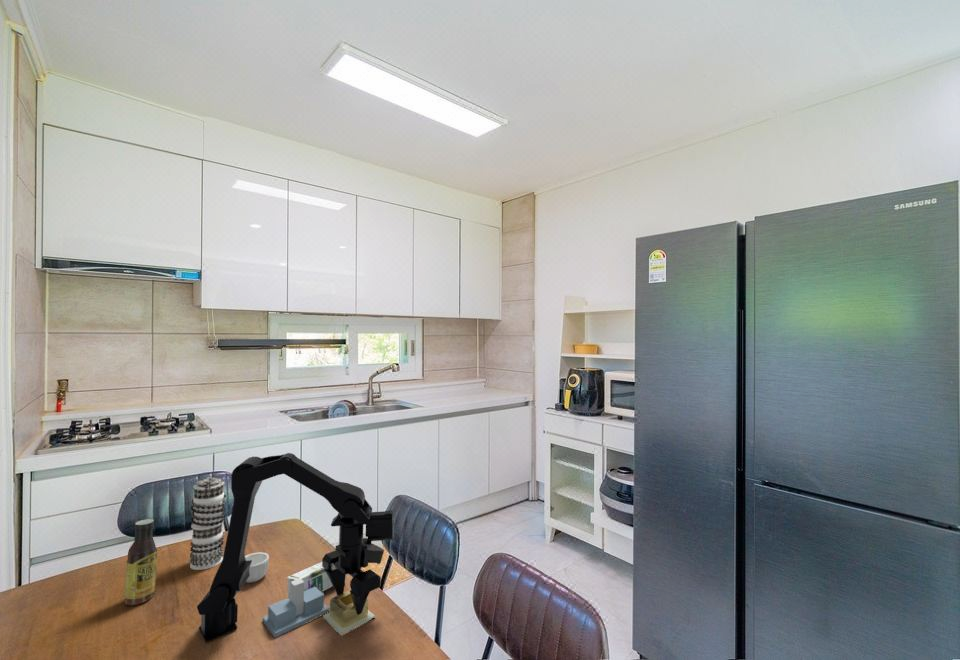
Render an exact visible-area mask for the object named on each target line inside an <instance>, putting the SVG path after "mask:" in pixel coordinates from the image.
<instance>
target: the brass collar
mask: <svg viewBox="0 0 960 660" xmlns="http://www.w3.org/2000/svg"><path fill="white" fill-rule="evenodd" d="M350 590H351V589H350ZM350 590H347V591H344V592H343V593H342V594H340V595H338V596H337V595H336V596H334V597H331V598H330V599H329V612H330V616H331V617H332V618H333V619H334V620H335V621H336V622H337V623H338V624H339V625H340V626H341V627H342V628H345V627H347V626H349V625H351V624H353V623H355V622H356V621H358V620H360V619H362V618H364V617H366V616H368V610H369V598H367V599H366V602H365V605H364V608H363V611H362V613H361V614H359V615H357V613H356V610H355V607H354V604H353V600H352V597H351V594H350Z"/></svg>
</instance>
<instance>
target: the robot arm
mask: <svg viewBox="0 0 960 660" xmlns="http://www.w3.org/2000/svg"><path fill="white" fill-rule="evenodd" d="M280 475H285V476H288V477H289V478H290V479H292V480H294V481H295V482H297V483H298V484H301V485H302V486H304V487H306V488H308V490H310V491H312V492H314V493H316V494H318V495H319V496H321V497H323V498H324V499H325V500H326V501H327V502H328V503H329V504H330V506H331V507H332V508H333V509H334V510H335V511H336V512H338V513H337V515H336V516H335V517H333V519H332V521H331V523H330V526H331V527H339V529H338V531H339V534H338V535H339V537H338V544H337V545H335V550H333V551H330V552H328V553H325V554H324V556H323V557H322V560H321V562H322V566H323V567H324V568H325V571H326V573H327V575H328V577H329V579H330V581H331V583H332V585H333V586H332V587H333V589H334V591H335V593H336V596H338V595H340V594H342V593H345V583H346V580H345V576H346V577H347V575H349V576H351V577H352V578H351V580H350V582H349V587H350V594H351V597H352V600H353V604H354V607H355V610H356V613H357V615H359V614H361V613H362V611H363V608H364V605H365V602H366V599H368V597H369V595H370V593H371V592H372V591H374V590H377V589H379V588H380V587H381V584H382V576H380V575H379V574H377V573H376V572H375V571H373V570H372V569H367V570H365V571H364V570H362V568H367V567H369V564H377V565H381V564H382V559H383V556H384V554H385V553H384V552H385V550H384V548H382V547H380V546H379V545H376V544H374V543H373V542H377V541H378V542H379V541H381V542H382V541H393V540H394V524H395V523H394V510H390V509H389V510H385V511H373V507H372V506H371V505H370V503H369V502H368V501H367V500H366V495H365V492H364V490H363V488H361V487H359V486H356V485H354V484H351V483H348V482H343V481H338V480H336V479H335V478H332V477H330V476H329V475H327V474H325V473H323V472H322V471H320V470H318V469H317V468H316V467H314V466H312V465H311V464H309V463H307V462H306V461H304V460H302V459H301V458H299V457H297V455H295V454H294V453H291V452H287V453H285V454H279V455H277V454H276V455H270V456H266V457H259V456H251V457H248V458H247V459H245V460H244V461H243V462H241V463H240V464H238V465H237V466H236V467H235V468H234V469H232V472H231V476H230V478H231V481H230V483H231V484H230V490H231V493H232V497H233V504H232V509H231V514H230V520H229V525H228V529H227V530H228V531H227V535H226V541H225V546H224V549H223V556H222V557H223V560H222V562H221V563H219V567H218V569H217V571H216V573H215V575H214V577H213V580H212V582H211V585H210V588H209V591H207V593H206V594H205V596H204V597H203V598H202V599H201V600H200V602H199V604H197V606H196V609H197V613H198V614H199V615H200V616H201V618H200V619H201V621H200V623H201V624H200V626H199V627H198V631H199V633H200V635H201V637H202V638H203V641H204V642H205V643H208V642H211V641H213V640H215V639H217V638H221V637H222V636H225V635H228V634H230V633H233V632H234V631H236V630H237V629H238V625H237V622H238V611H239V609H238V606H239V605H238V604H237V602H236V598H235V597H236V595H237V594H238V592H240V591H241V590H242V588H243V586H244V585H245V583H247V582H246V581H247V579H248V578H249V576H250V574H249V568H250V565H251V563H252V560H249V561H246V559H245V556H246V555H245V553H246V547H247V542H248V536H249V531H250V525H251V520H252V514H253V511H254V503H255V500H256V499H255V498H256V496H257V493H258V491H259V489H260V487H261V485H262V483H263V482H264V481H265V480H267V479H268V480H269V479H271V478H274V477H276V476H277V477H278V476H280ZM364 525H365V537H364Z"/></svg>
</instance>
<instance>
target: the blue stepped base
mask: <svg viewBox="0 0 960 660" xmlns="http://www.w3.org/2000/svg"><path fill="white" fill-rule="evenodd" d="M267 609H268V610H267V615H264V616H262V622H263V623H264V625H265V627H267V629H268V631H270V633H271V634H272V635H273V637H274V638H278V637H280V636H282V635H284V634H286V633H288V632H290V631H289V630H291V631H293V630H294V629H293V628H295V629H296V627H297V626H299V627H301V626H303V625H305V624H307V623H306V622H308V623H309V621H310V620H312V619H314V620H315V618H316V617H318V616H320V615H322V616H323V614H325V613H327V612H330V607H329V606H328V605H326V604H325V593H324V591H323V592H320V591H319V590H318V589H317V588H316V587H313V588H311V589H308V590H306V591H304V581H303V580H302V579H301V578H299V579H296V580H294V581H291V582H290V600H289V599H288V597H287V598H284V599H281V600H280V601H277V602H275V603H271V604H270V605H268V607H267ZM320 617H321V616H320ZM318 618H319V617H318ZM316 619H317V618H316ZM312 621H313V620H312ZM310 622H311V621H310ZM304 623H305V624H304ZM302 624H303V625H302ZM300 625H301V626H300ZM297 628H298V627H297ZM292 629H293V630H292ZM287 631H288V632H287ZM283 633H284V634H283Z"/></svg>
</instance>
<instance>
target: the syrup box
mask: <svg viewBox="0 0 960 660" xmlns="http://www.w3.org/2000/svg"><path fill="white" fill-rule="evenodd" d="M299 578H301V579H302V580H303V581H304V591H306V590H308V589H311V588H313V587H316V588H317V589H318V590H319V591H320V592H323V593H324V591H326V590H329V589H330V588H332V587H333V585H332V583H331V581H330V579H329V577H328V575H327V573H326V571H325V568H324V567H323V566H322V561H321V562H318V563H316V564H314V565H311V566H310V567H307V568H304V569H302V570H300V571H298V572H296V573H294V574H291V575H289V576H287V577H286V580H287V593H288V594H287V596H288V597H287V598H288V599H289V600H290V582H291V581H294V580H296V579H299ZM345 581H347V575H346V576H345Z"/></svg>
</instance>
